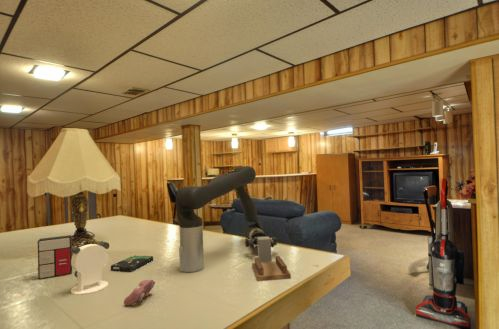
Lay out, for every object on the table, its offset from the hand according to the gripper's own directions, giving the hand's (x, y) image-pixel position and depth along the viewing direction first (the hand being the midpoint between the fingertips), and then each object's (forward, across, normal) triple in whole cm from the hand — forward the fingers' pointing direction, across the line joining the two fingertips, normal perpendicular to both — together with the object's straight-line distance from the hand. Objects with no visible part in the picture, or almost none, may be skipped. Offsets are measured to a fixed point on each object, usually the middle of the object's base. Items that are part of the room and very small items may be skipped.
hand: (263, 245), depth 124 cm
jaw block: (+3, 0, +6) cm, 7 cm away
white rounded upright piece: (+17, -64, +6) cm, 66 cm away
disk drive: (-5, -56, +7) cm, 57 cm away
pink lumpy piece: (+30, -44, +6) cm, 53 cm away
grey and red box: (+1, -84, +6) cm, 84 cm away
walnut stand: (+16, 0, +6) cm, 17 cm away
